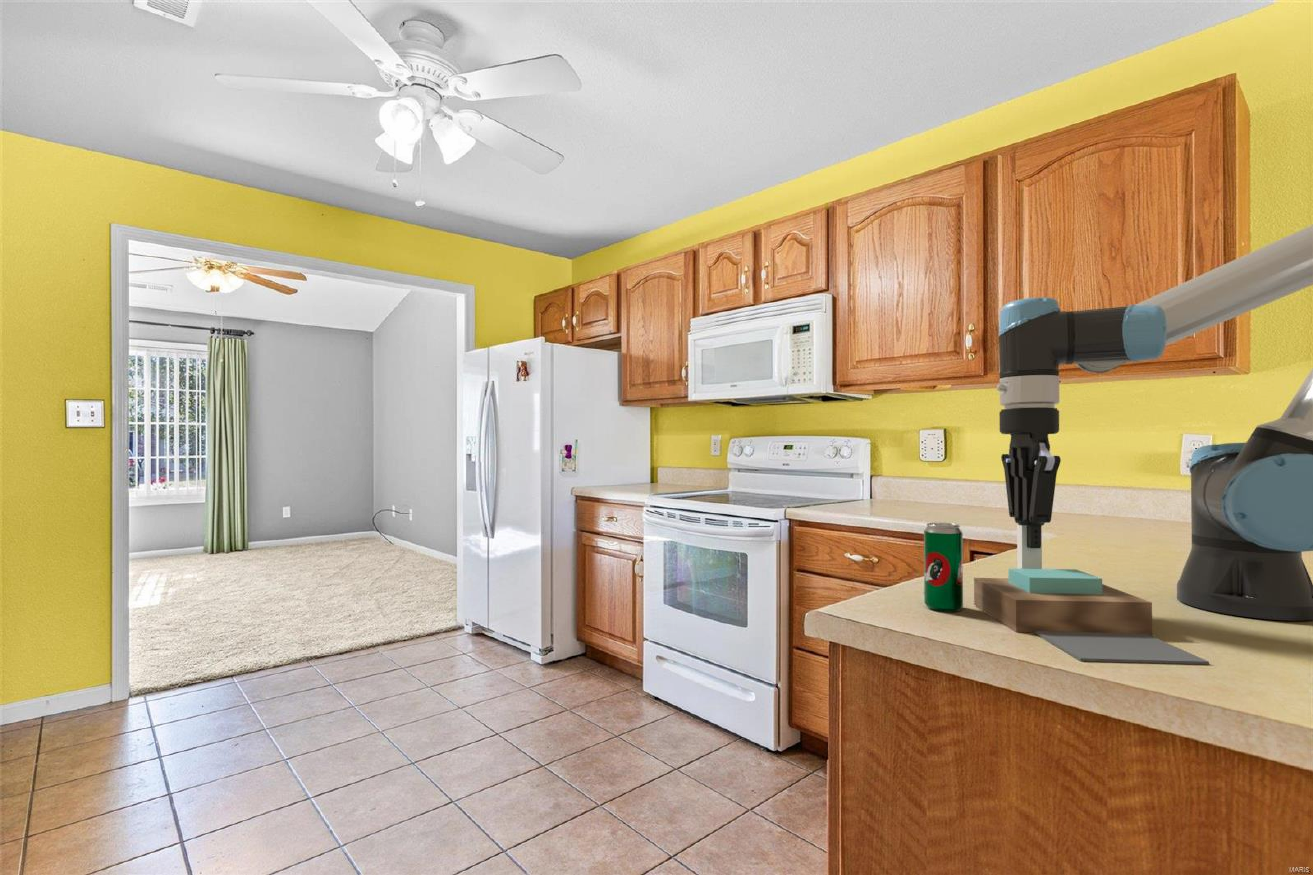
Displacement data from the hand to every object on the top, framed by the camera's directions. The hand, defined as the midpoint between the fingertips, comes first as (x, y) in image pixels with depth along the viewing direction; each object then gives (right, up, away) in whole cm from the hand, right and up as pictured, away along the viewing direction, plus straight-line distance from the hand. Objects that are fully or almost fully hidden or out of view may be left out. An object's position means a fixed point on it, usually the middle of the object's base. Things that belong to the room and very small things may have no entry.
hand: (1029, 569), depth 93 cm
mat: (-1, -5, -19) cm, 20 cm away
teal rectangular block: (-1, -1, -7) cm, 7 cm away
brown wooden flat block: (-1, -5, -7) cm, 9 cm away
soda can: (-13, -6, -1) cm, 14 cm away
